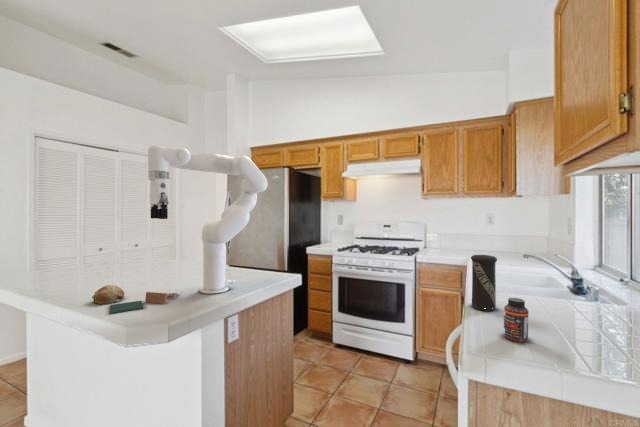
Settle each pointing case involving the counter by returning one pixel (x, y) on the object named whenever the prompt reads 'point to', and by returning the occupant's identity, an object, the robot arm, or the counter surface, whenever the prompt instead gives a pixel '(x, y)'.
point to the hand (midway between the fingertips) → (158, 218)
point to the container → (483, 282)
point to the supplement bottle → (516, 320)
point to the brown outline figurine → (158, 297)
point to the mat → (126, 307)
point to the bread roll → (108, 294)
